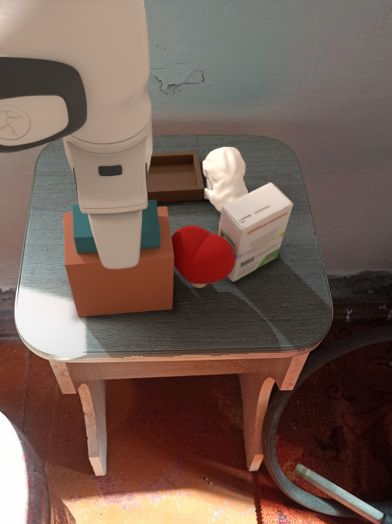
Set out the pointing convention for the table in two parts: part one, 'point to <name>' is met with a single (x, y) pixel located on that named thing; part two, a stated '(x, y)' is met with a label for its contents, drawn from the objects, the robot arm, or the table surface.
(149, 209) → the teal rectangular block
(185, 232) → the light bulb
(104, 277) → the orange cardboard box
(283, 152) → the table surface
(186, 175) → the brown rectangular tray
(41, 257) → the table surface
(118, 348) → the table surface
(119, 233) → the robot arm
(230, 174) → the white irregular lump
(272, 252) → the ink box
